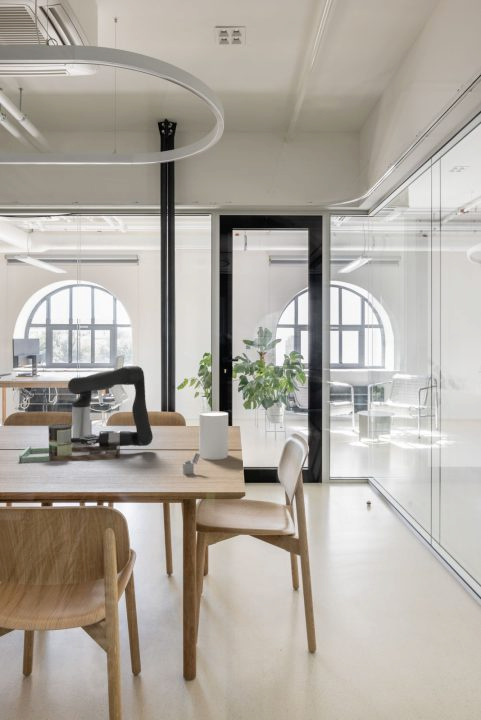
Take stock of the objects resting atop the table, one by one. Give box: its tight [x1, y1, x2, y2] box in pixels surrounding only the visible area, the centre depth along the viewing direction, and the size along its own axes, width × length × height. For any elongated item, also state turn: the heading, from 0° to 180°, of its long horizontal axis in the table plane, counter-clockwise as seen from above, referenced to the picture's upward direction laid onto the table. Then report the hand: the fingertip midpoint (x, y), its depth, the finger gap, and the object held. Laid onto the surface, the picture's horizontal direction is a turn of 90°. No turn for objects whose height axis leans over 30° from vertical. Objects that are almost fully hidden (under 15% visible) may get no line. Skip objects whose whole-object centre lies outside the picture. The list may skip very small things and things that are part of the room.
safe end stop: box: [18, 445, 51, 463], centre depth 232 cm, size 13×18×3 cm
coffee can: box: [47, 423, 73, 456], centre depth 233 cm, size 10×10×14 cm
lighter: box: [182, 452, 200, 476], centre depth 206 cm, size 7×2×8 cm, turn 118°
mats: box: [88, 450, 116, 454], centre depth 237 cm, size 12×14×1 cm
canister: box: [198, 410, 229, 461], centre depth 235 cm, size 14×14×20 cm
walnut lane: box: [18, 445, 121, 463], centre depth 235 cm, size 42×18×2 cm, turn 102°
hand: (71, 440), depth 234 cm, fingers closed
